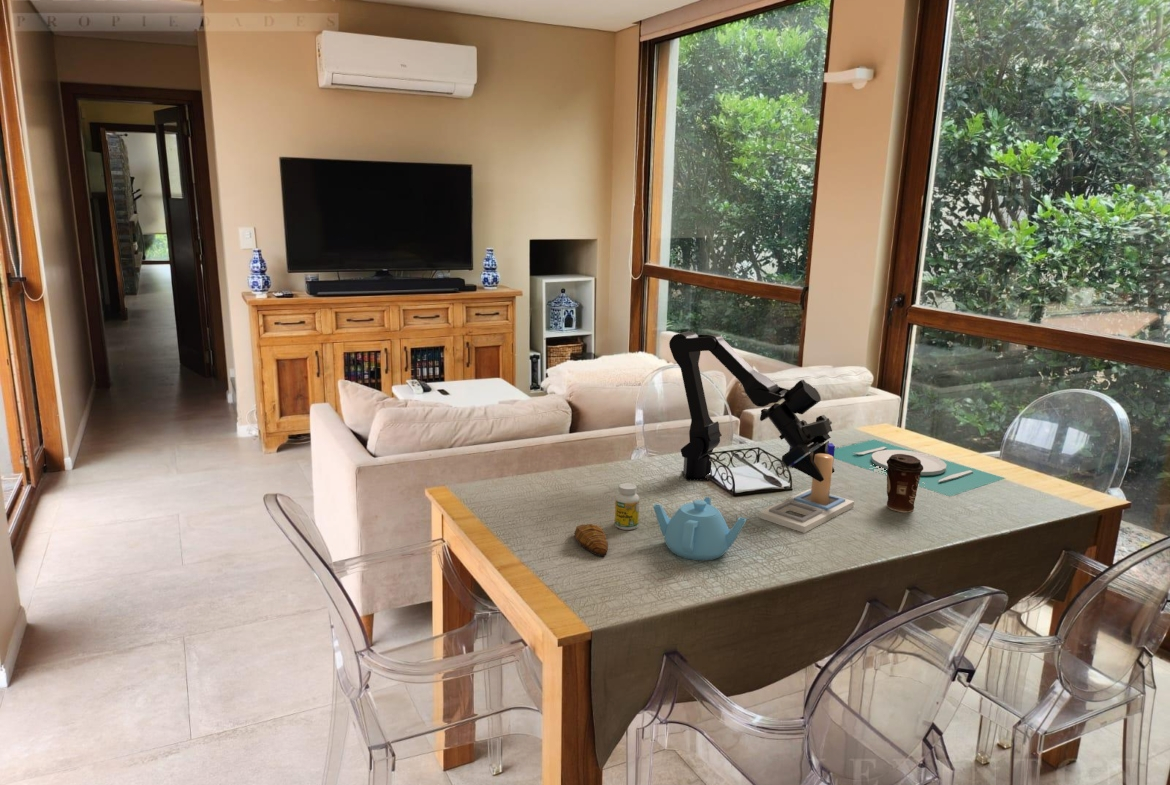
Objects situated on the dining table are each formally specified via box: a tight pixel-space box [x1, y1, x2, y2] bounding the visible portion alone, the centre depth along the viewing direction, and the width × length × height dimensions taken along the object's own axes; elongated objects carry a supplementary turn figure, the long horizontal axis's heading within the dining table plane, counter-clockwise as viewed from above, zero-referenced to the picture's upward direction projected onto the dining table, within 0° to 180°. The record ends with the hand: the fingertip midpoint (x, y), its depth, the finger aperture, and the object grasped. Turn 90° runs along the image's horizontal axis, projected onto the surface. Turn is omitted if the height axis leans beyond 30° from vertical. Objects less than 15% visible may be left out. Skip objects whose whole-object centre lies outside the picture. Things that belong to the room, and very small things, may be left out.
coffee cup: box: [886, 454, 923, 514], centre depth 200 cm, size 9×8×13 cm
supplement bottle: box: [614, 482, 640, 531], centre depth 184 cm, size 5×5×10 cm
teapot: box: [652, 496, 747, 561], centre depth 173 cm, size 15×15×11 cm
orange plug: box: [810, 453, 834, 506], centre depth 199 cm, size 4×4×13 cm
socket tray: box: [758, 488, 855, 534], centre depth 197 cm, size 24×12×2 cm, turn 136°
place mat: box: [834, 439, 1006, 497], centre depth 235 cm, size 45×30×2 cm
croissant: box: [573, 523, 609, 557], centre depth 174 cm, size 14×7×5 cm, turn 23°
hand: (827, 476), depth 198 cm, fingers open, 7 cm apart
